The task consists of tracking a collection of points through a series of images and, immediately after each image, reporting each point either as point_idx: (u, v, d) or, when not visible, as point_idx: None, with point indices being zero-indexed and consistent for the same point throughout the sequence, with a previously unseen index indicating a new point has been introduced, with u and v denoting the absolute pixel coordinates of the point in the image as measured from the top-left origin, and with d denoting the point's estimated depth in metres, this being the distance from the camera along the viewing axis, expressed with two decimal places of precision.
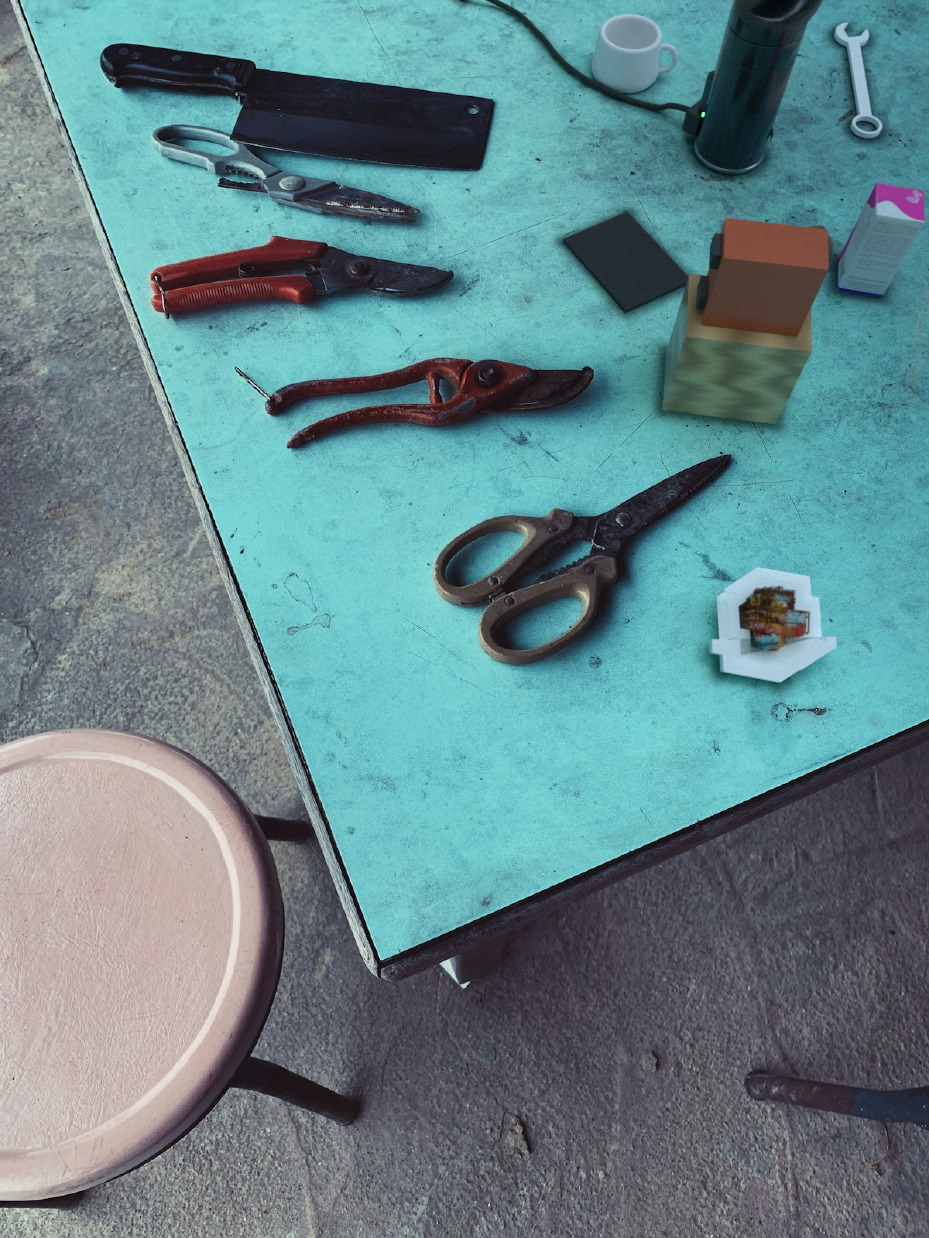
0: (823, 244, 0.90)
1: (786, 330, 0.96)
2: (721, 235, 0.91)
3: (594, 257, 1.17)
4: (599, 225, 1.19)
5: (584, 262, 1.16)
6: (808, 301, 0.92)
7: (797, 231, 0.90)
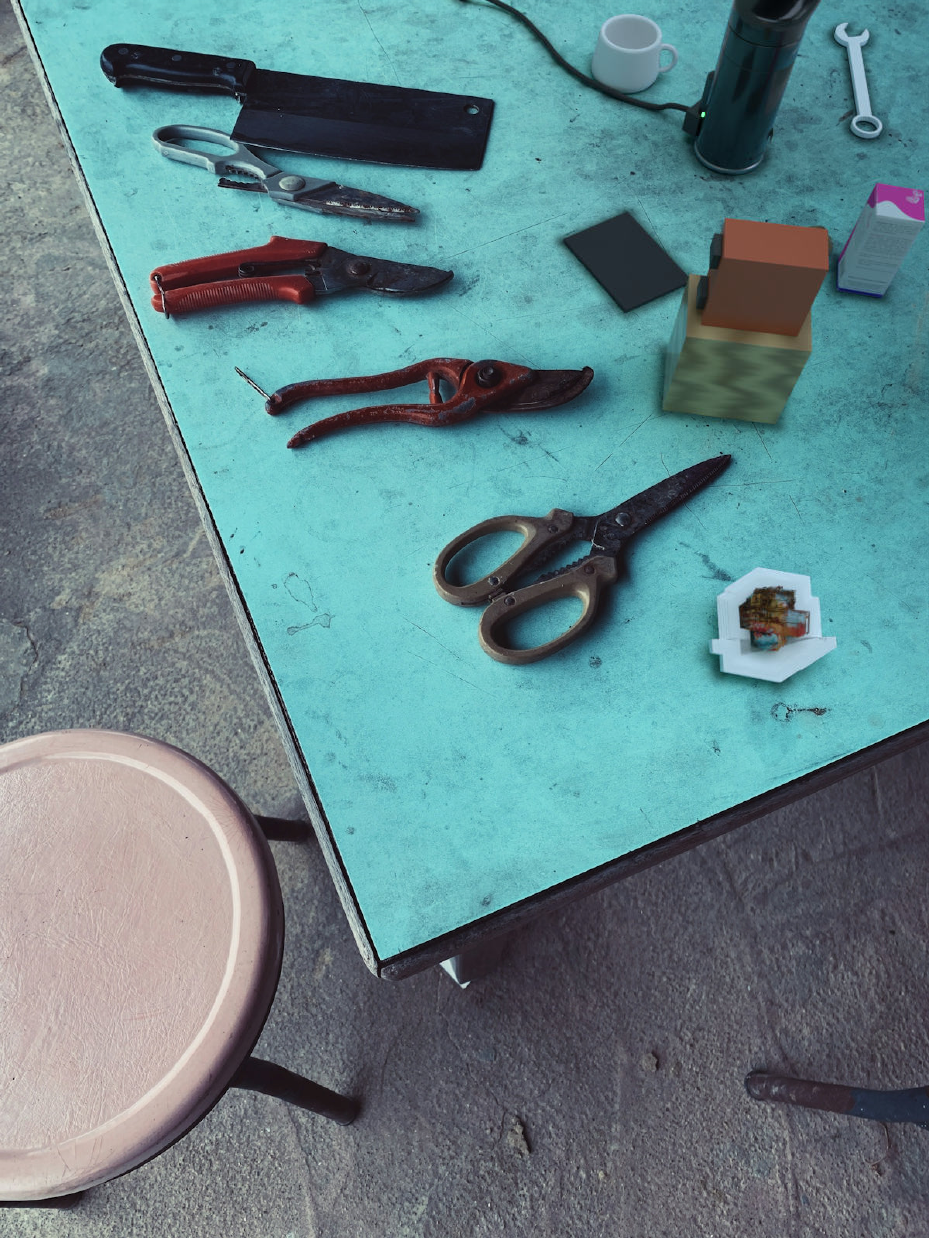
0: (823, 244, 0.90)
1: (786, 330, 0.96)
2: (721, 235, 0.91)
3: (594, 257, 1.17)
4: (599, 225, 1.19)
5: (584, 262, 1.16)
6: (808, 301, 0.92)
7: (797, 231, 0.90)
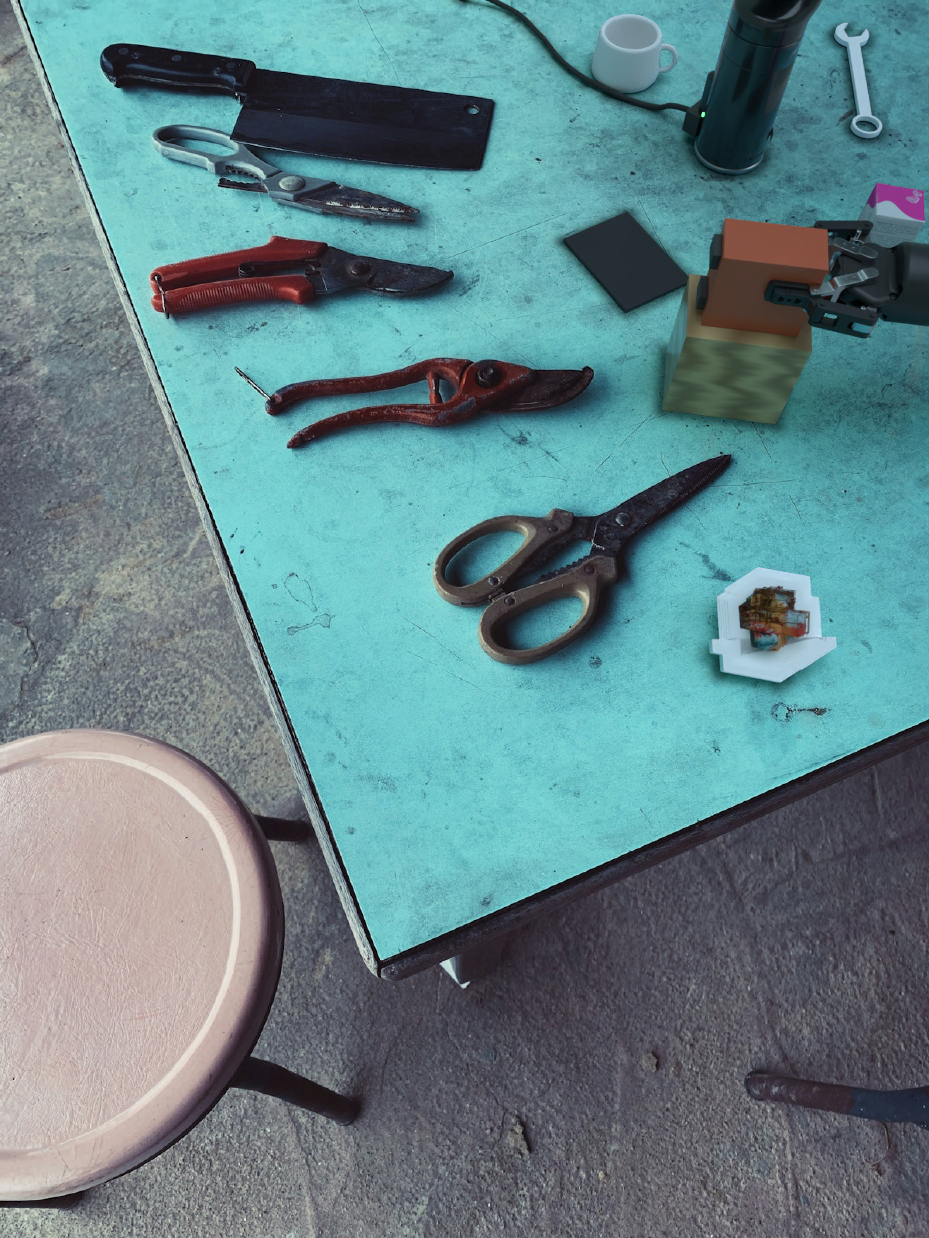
0: (823, 244, 0.90)
1: (786, 330, 0.96)
2: (721, 235, 0.91)
3: (594, 257, 1.17)
4: (599, 225, 1.19)
5: (584, 262, 1.16)
6: None
7: (797, 231, 0.90)
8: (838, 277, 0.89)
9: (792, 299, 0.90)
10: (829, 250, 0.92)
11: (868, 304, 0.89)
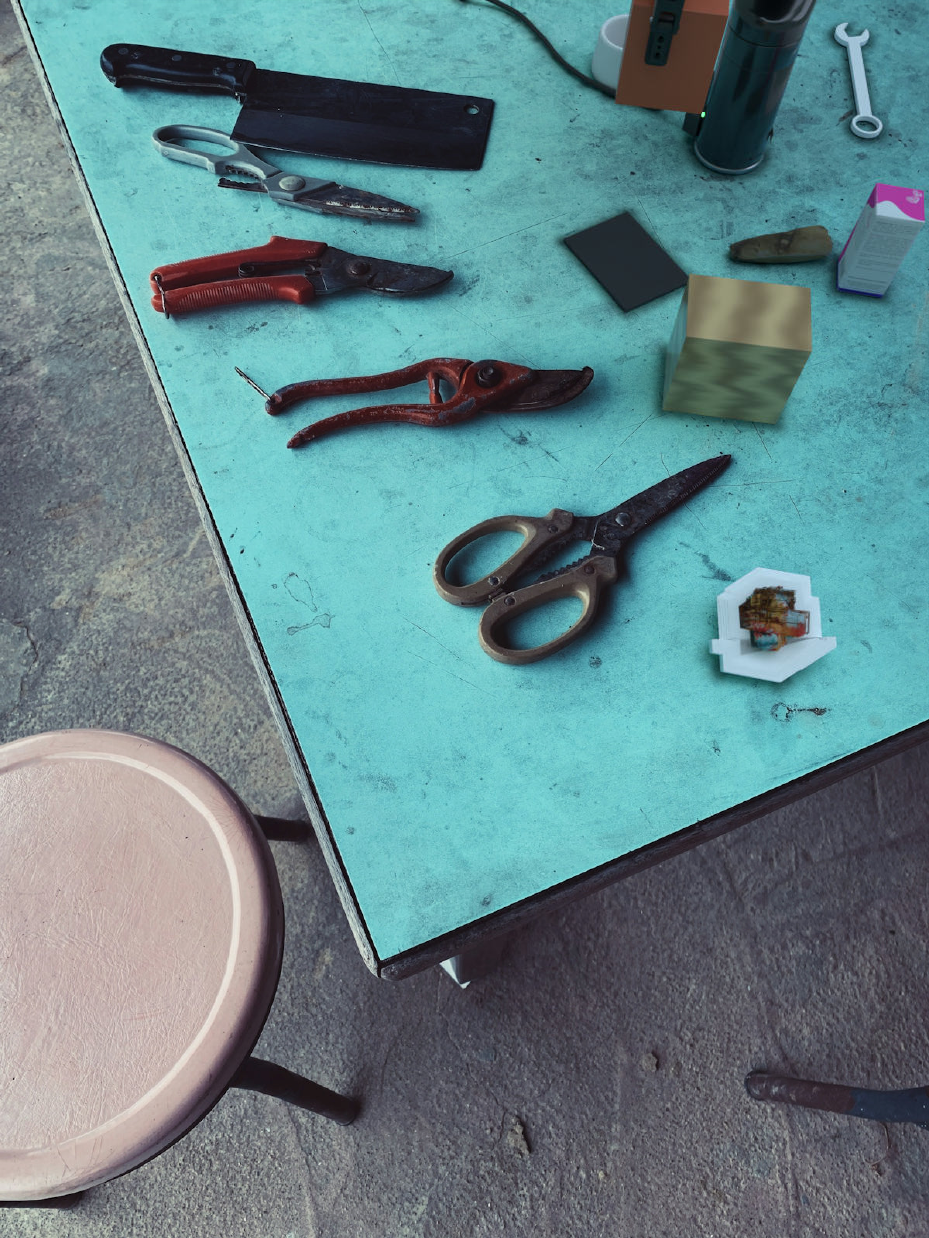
0: None
1: (717, 29, 0.88)
2: None
3: (594, 257, 1.17)
4: (599, 225, 1.19)
5: (584, 262, 1.16)
6: None
7: None
8: None
9: (657, 44, 0.88)
10: None
11: None
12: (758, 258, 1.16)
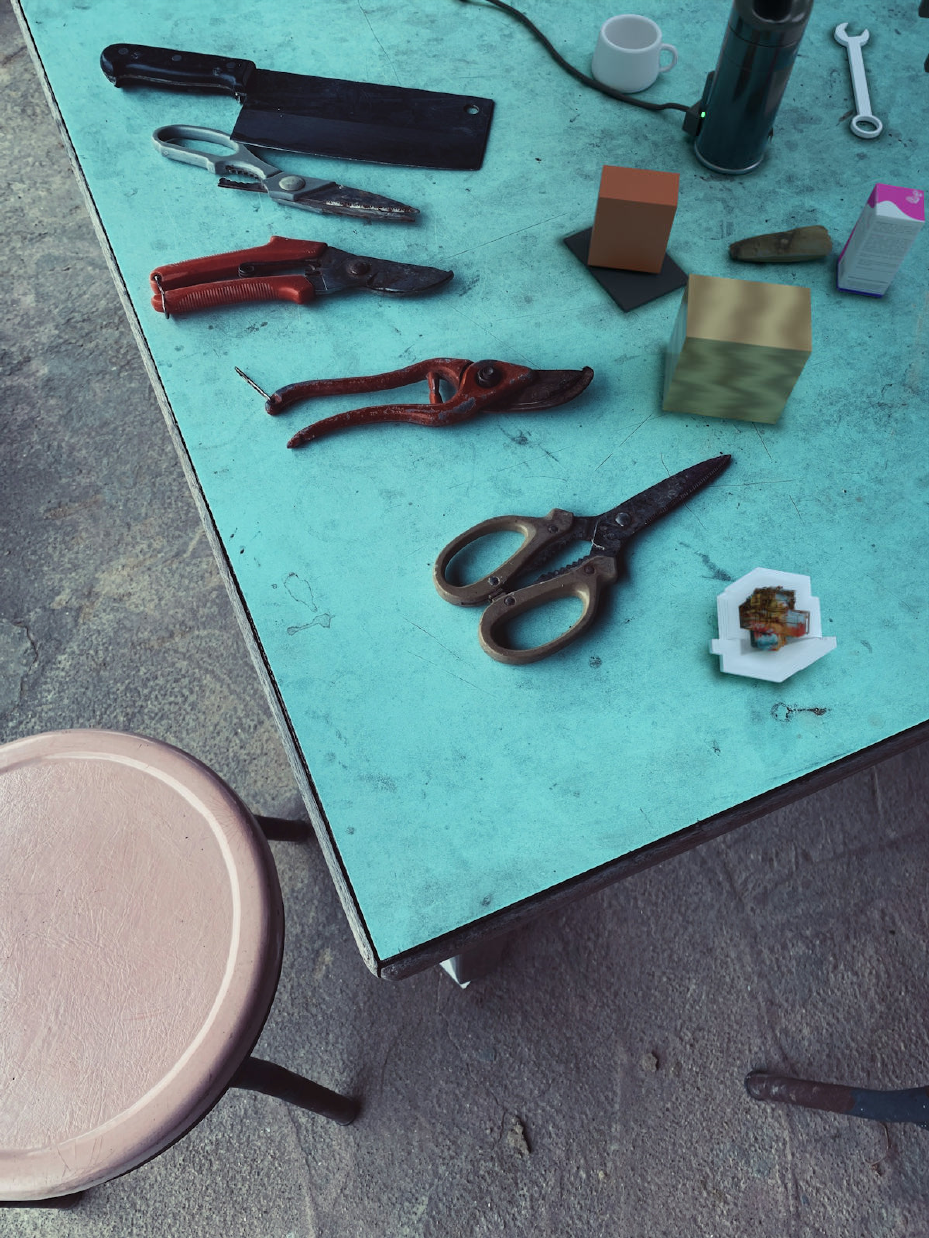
0: (600, 180, 1.08)
1: (668, 215, 1.07)
2: None
3: None
4: None
5: (584, 262, 1.16)
6: (634, 204, 1.06)
7: None
8: None
9: None
10: None
11: None
12: (758, 257, 1.16)
